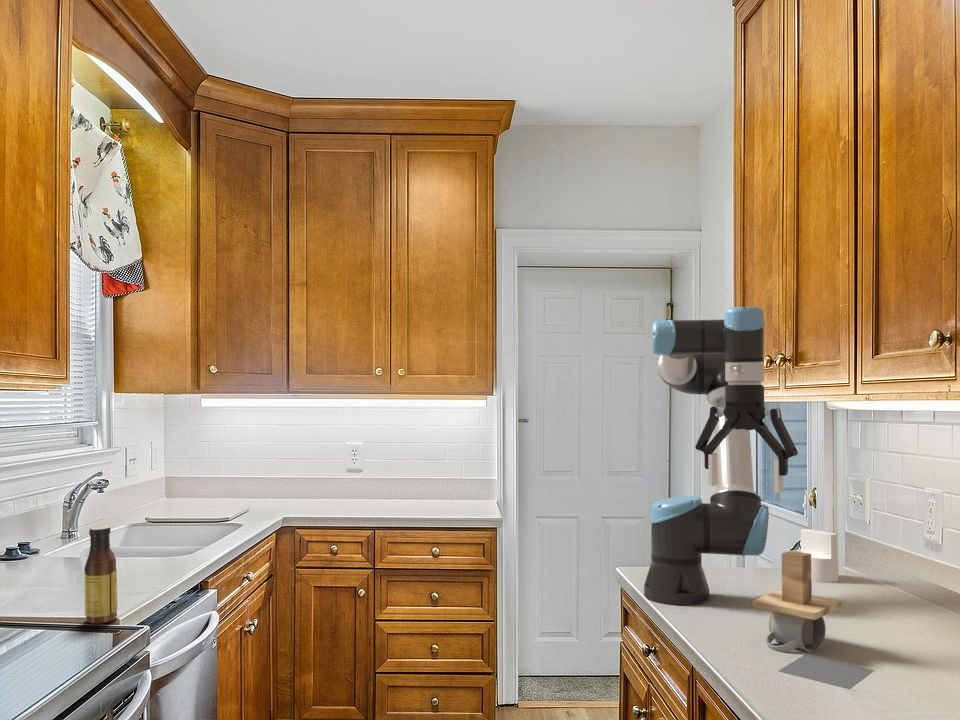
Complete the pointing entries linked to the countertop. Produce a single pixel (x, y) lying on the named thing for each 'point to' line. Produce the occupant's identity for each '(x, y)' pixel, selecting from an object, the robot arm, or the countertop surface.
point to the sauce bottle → (100, 578)
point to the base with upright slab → (821, 554)
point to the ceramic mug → (795, 632)
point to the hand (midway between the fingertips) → (745, 488)
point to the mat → (826, 671)
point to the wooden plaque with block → (797, 590)
